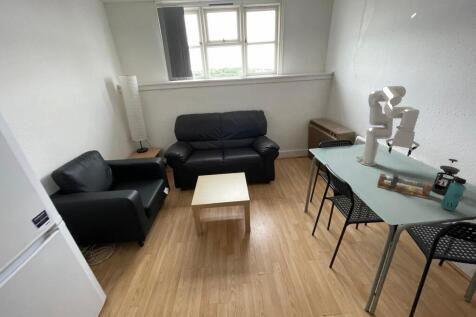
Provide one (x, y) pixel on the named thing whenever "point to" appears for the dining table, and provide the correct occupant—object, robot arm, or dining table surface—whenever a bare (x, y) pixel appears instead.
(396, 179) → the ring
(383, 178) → the pipe stand
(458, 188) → the beverage bottle
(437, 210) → the dining table surface
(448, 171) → the french press
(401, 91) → the robot arm
